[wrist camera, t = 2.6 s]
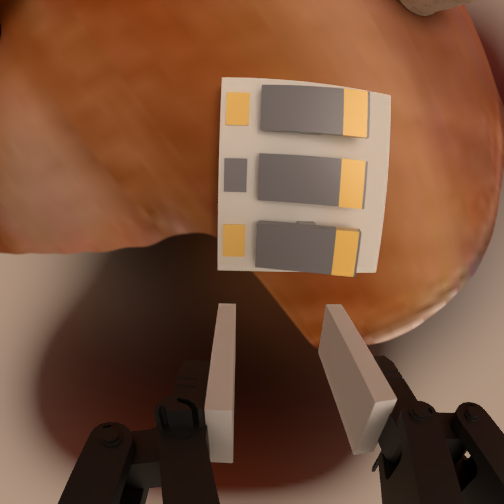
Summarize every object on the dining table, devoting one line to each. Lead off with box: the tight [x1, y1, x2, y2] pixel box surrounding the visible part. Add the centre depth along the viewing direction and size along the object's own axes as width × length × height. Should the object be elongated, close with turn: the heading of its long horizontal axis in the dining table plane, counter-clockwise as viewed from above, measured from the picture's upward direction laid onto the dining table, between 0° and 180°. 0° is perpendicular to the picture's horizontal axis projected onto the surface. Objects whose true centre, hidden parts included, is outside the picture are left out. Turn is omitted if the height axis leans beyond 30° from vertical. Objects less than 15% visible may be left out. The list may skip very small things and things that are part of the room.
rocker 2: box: [258, 153, 368, 209], centre depth 26 cm, size 9×4×1 cm, turn 88°
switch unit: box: [218, 77, 391, 273], centre depth 29 cm, size 16×18×5 cm
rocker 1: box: [260, 85, 370, 139], centre depth 24 cm, size 9×4×1 cm, turn 88°
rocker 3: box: [255, 220, 362, 277], centre depth 27 cm, size 9×4×1 cm, turn 88°
